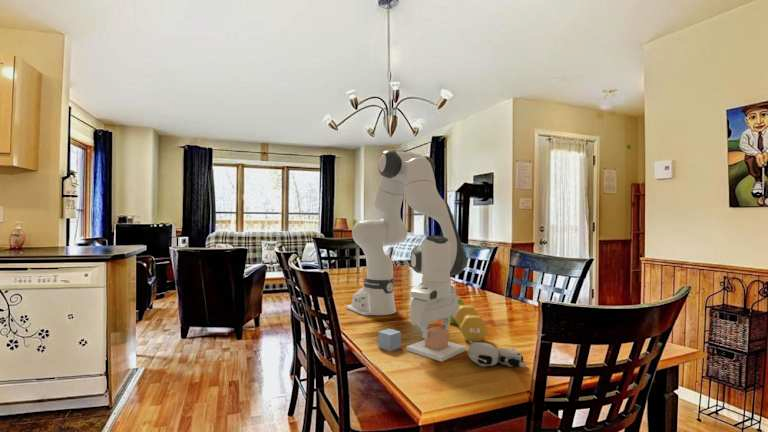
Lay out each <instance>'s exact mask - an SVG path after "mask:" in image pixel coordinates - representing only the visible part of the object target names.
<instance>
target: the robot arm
mask: <svg viewBox="0 0 768 432" xmlns="http://www.w3.org/2000/svg"><path fill="white" fill-rule="evenodd" d="M435 169H436V165H435V161H434V160H433V158H431V157H430V156H428V155H425V154H419V153H416V152H411V151H401V150H394V149H388V150H384V151H383V152H382V153H381V155H380V157H379V160H378V172H379V174H380V175H381V177H380V179H379V181H378V182H379V183H378V185H377V190H376V194H375V197H374V202H373V203H374V206H375V209H376V210H377V211H378V212H380V213H381V216H380V219H365V220H361V221H357V222H356V223H355V224H354V225H353V227H352V230H351V237H352V239H353V241H354V242H355V244H356V245H358V246H359V248H361V250H362V251H363V254H364V256H365V257H364V258H365V261H366V278H363V279H362V281H361V282H362V283H363V286H362V287H361V288H360V289H358V290H357V291H356V292H355V293H354V294H353V296H352V299H351V304H348V305H347V306H346V309H347V310H350V311H353V312H355V313H357V314H360V315H361V316H388V315H392V314H395V313H396V312H397V309H396V304H395V295H394V287H395V278H393V277H394V273H393V272H394V261H393V258H391V256H389V255H388V254H386V253H385V251H384V248H383V247H384V246H395V245H398V244H401V243H403V242H404V241H405V240H406V238H407V236H408V229H407V226H406V224H405V223H404V222H403V220H402V218H401V208H402V203H403V200H404V197H405V200H406V203H407V205H408V206H409V207H410V208H411V209H412V210H413V211H415V212H417V213H419V214H422V215H424V216H426V217H429V218H432V219H433V220H435V221H436V222H437V223H438V224H439V226H440V229H441V232H442V236H441V235H429V236H426V237H424V240H423V243H421V244H418V245H415V247H414V248H413V249H412V250H411V251H410V268H411V269H412V270H413V271H414V272H415V273H416V274H419V275H420V274H421V275H422V277H421V283H419V284H418V285H417V286H416V287H414V288H413V289H411V291H410V297H411V298H412V299H411V302H410V313H409V315H410V321H411V324H412V325H414V326H418V327H419V329H420V331H421V337H422V338H423V339H424V340H425V339H427V338H429V337H430V332H428V330H427V329H428V327H429V325H430V324H431V323H436V322H438V321H440V320H442V323H441V325H440V328H442V329H446V330H448V331H449V324H450V316H453V315H456V314H457V312H458V299H457V298H458V294H457V292H456V291H457V290H456V288H455V287H454V286H453V285H452V278H451V276H458V275H460V274H461V273H463V271H465V269H466V268H467V265H468V257H467V252H466V249H465V248H464V246H463V244H462V241H461V238H460V236H459V232H458V229H457V226H456V221H455V219H454V216H453V214H452V211H451V208H450V205H449V203H448V202H447V201H446V200H444V199H443V198H442V196H441V195H440V193H439V191H438V189H437V184H436V178H435V171H436V170H435Z"/></svg>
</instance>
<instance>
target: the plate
mask: <svg viewBox="0 0 768 432" xmlns="http://www.w3.org/2000/svg"><path fill="white" fill-rule="evenodd" d="M405 349H406V351H408V352H409V353H414V354H416V355H419V356H423V357H426V358H429V359H432V360H435V361H438V362H442V363H443V362H445V361H446V360H449V359H450V358H453V357H455V356H457V355H459V354H462V353H463V352H465V351H467V346H466V345H462V344H459V343H455V342H451V341H448V346H447V347H445V348H443V349H440V350H436V349H432V348H429V347H426V346H425V339H422V340H421V341H417V342H415V343H412V344H410V345H407V346H406V347H405Z"/></svg>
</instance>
